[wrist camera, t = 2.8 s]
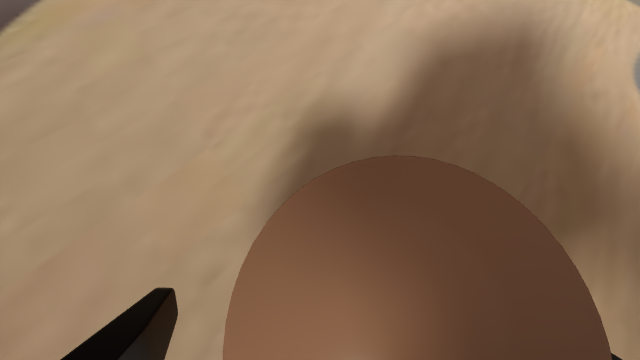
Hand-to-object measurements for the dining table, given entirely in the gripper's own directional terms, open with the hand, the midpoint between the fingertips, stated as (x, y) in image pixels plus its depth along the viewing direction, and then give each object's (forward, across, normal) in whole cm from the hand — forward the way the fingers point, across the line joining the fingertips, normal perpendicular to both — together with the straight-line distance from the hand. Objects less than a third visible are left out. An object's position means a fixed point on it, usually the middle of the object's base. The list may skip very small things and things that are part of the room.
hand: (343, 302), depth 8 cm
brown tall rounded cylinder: (+5, 0, +6) cm, 8 cm away
